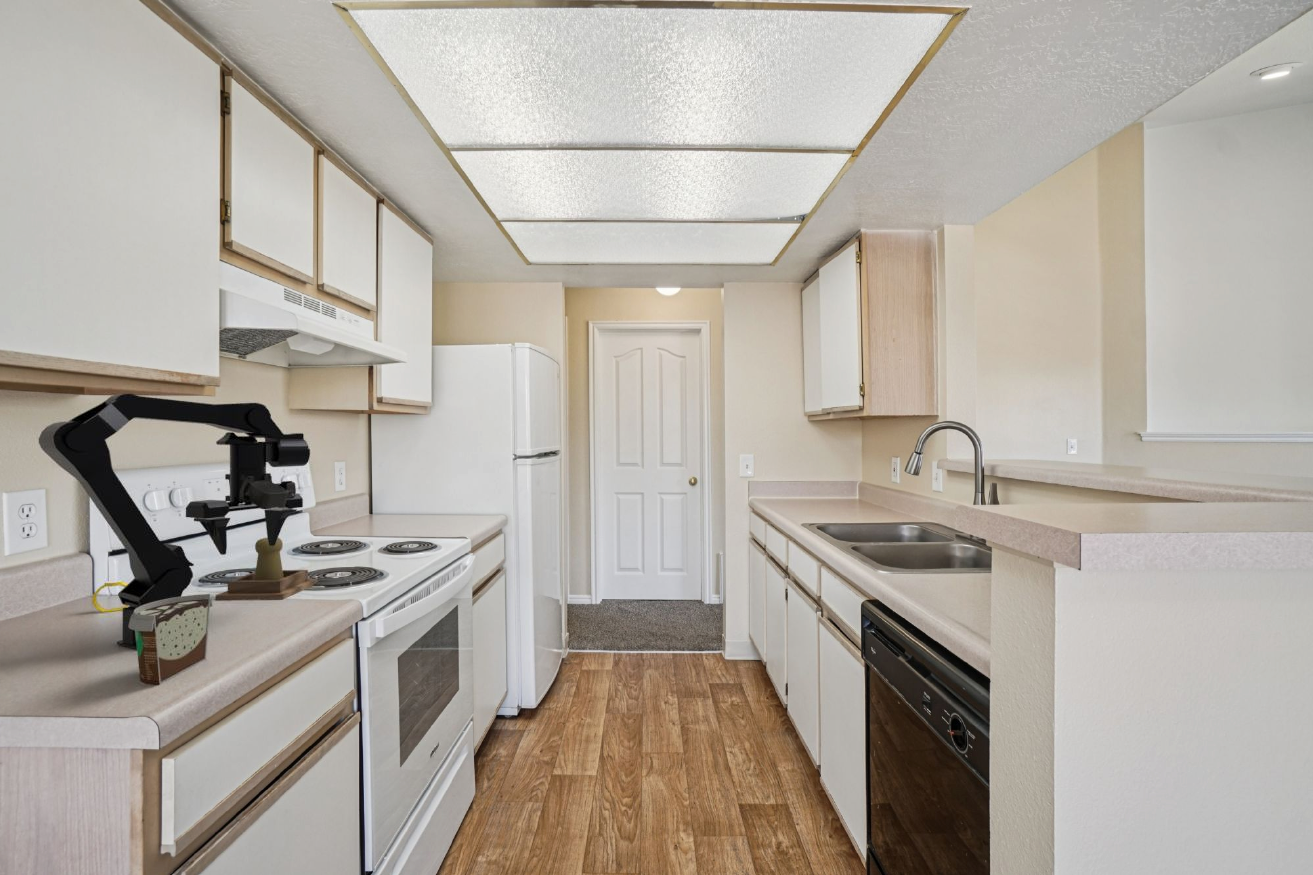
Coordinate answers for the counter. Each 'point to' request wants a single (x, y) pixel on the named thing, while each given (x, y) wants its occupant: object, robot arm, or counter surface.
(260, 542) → the cork
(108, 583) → the watch
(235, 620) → the counter surface
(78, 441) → the robot arm
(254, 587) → the stand
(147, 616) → the food container
